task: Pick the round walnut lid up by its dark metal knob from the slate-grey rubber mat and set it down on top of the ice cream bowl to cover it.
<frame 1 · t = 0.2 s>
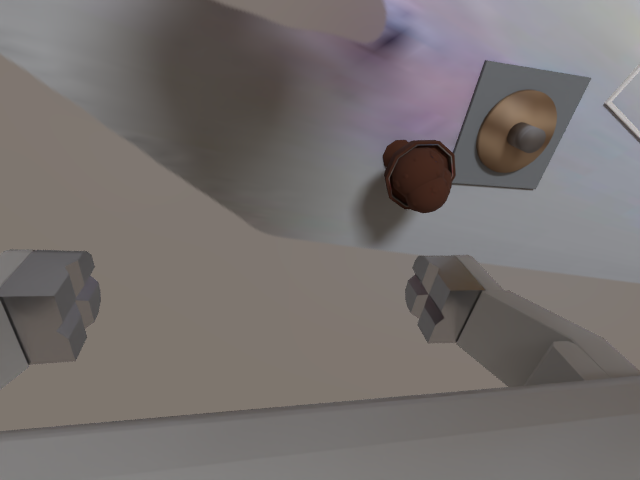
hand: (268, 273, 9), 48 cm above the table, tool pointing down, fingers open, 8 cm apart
walnut lid: (514, 132, 61), resting on rubber mat
rubber mat: (512, 131, 62), on the table
ice cream bowl: (397, 155, 60), on the table
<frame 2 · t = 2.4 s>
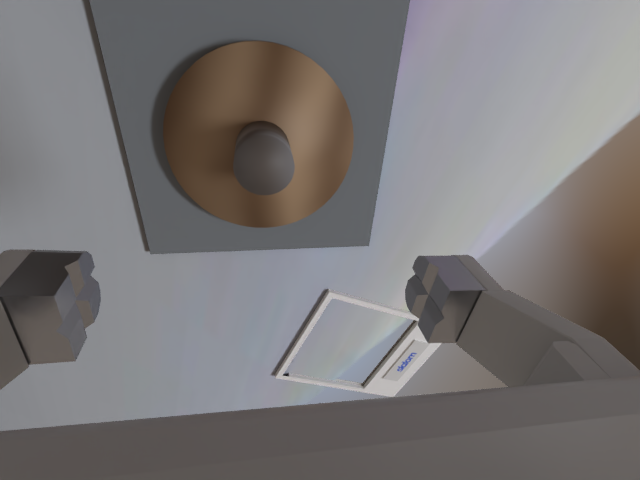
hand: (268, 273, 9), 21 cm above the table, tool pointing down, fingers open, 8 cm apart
walnut lid: (262, 143, 27), resting on rubber mat
rubber mat: (262, 141, 28), on the table
photo frame: (363, 345, 44), on the table
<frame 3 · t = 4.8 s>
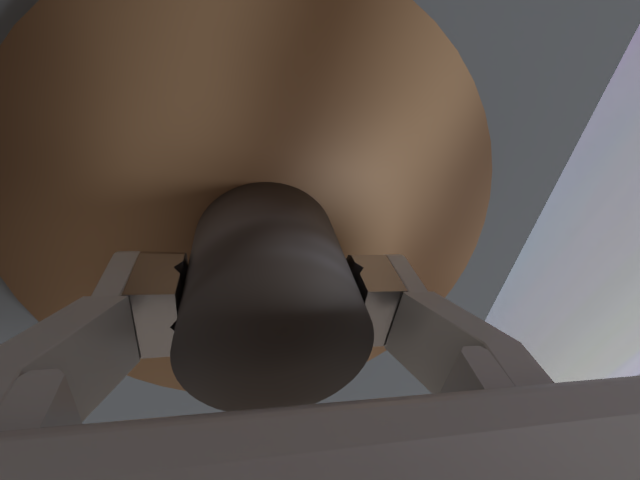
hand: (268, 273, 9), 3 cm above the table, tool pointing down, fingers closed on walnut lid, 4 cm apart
walnut lid: (264, 228, 11), point 1 cm above the table, touching gripper, rubber mat
rubber mat: (263, 220, 12), on the table
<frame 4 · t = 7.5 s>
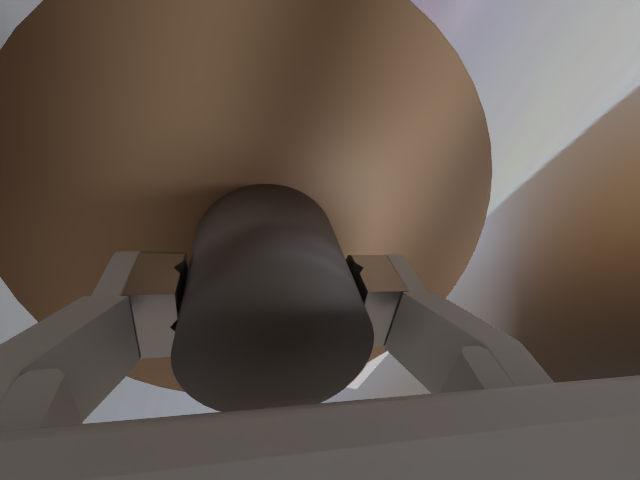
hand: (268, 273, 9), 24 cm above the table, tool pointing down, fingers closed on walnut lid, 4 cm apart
walnut lid: (264, 229, 11), point 22 cm above the table, touching gripper
photo frame: (331, 337, 48), on the table
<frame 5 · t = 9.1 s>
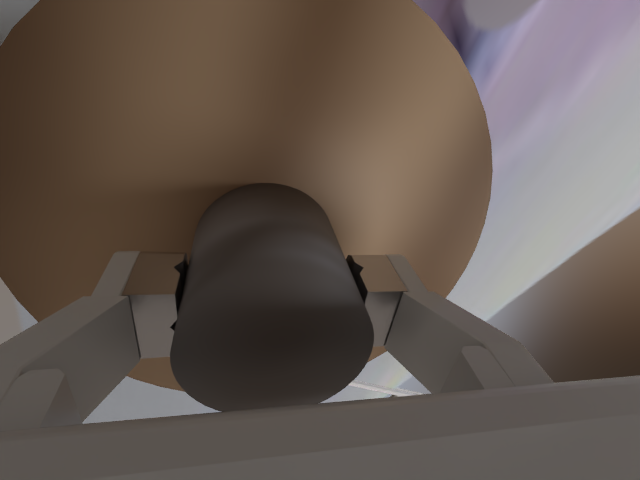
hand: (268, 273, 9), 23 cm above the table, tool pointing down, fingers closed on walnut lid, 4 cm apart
walnut lid: (264, 228, 11), point 21 cm above the table, touching gripper
photo frame: (353, 410, 57), on the table
when the fingers open (19 cm above the table, at t = 10.2 s): walnut lid drops 2 cm, resting on ice cream bowl.
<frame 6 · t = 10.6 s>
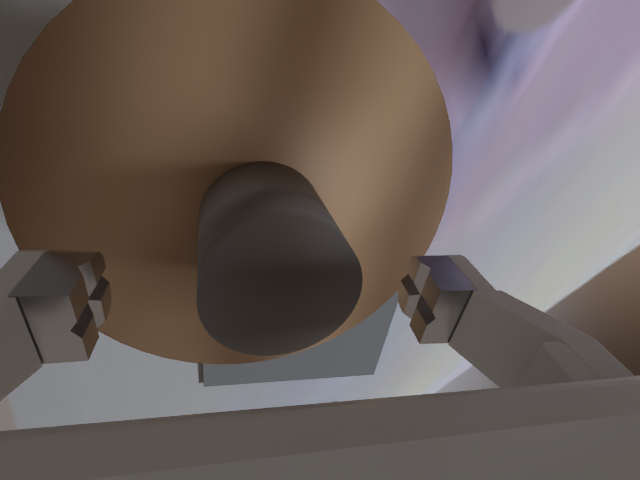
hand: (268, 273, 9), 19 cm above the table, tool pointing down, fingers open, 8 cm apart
walnut lid: (258, 206, 13), point 15 cm above the table, touching ice cream bowl
rubber mat: (302, 314, 37), on the table
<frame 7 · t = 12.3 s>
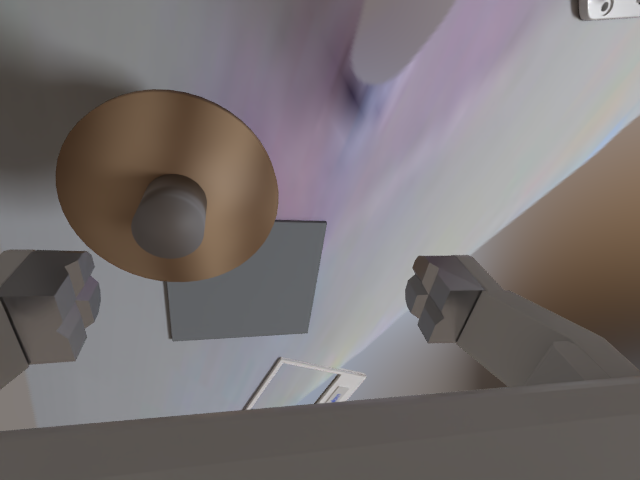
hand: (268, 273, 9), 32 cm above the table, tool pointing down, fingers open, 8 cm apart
walnut lid: (178, 195, 25), point 15 cm above the table, touching ice cream bowl
rubber mat: (245, 283, 49), on the table
photo frame: (305, 389, 66), on the table
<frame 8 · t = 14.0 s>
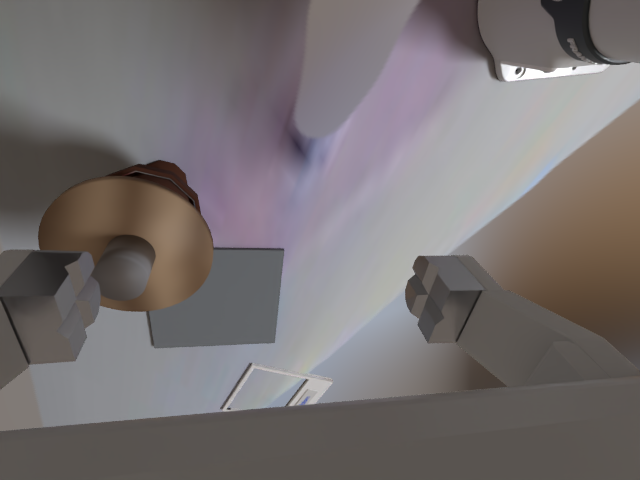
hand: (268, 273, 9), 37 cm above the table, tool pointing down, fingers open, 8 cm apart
walnut lid: (134, 247, 32), point 15 cm above the table, touching ice cream bowl
rubber mat: (216, 299, 56), on the table
ice cream bowl: (164, 180, 45), on the table, touching walnut lid
photo frame: (277, 391, 73), on the table
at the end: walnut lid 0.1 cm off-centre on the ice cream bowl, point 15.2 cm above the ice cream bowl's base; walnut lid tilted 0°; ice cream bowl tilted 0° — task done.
